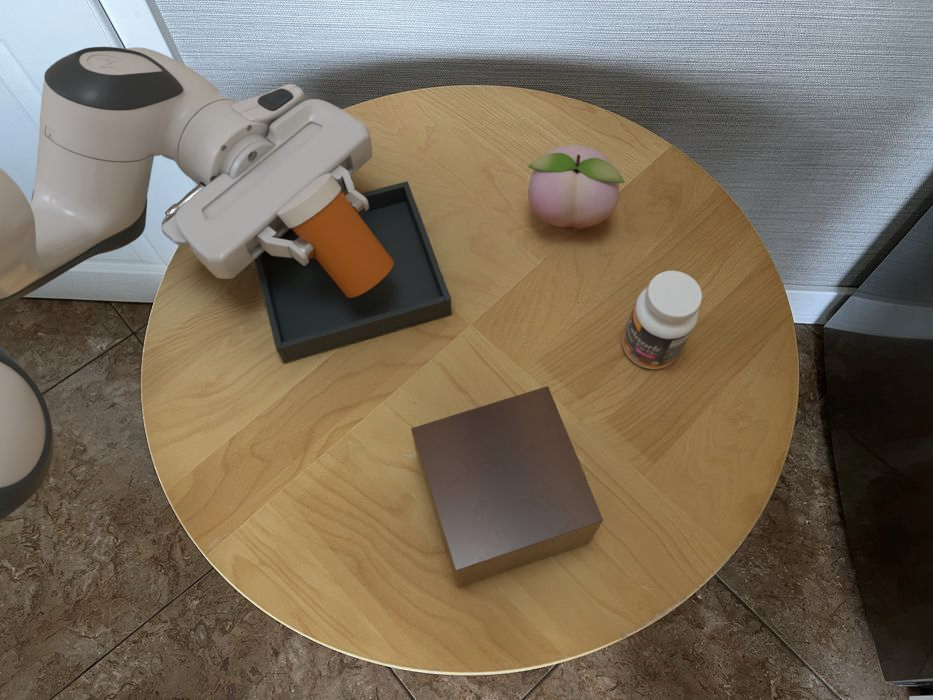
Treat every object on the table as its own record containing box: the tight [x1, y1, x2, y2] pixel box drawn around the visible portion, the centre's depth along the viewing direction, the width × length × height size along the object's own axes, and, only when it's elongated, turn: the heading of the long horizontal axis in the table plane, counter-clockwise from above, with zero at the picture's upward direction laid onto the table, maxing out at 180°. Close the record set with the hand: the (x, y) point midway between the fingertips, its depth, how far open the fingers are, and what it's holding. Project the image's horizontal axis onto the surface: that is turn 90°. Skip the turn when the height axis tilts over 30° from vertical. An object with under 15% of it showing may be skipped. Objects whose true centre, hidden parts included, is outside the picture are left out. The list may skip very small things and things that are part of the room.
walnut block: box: [410, 385, 604, 589], centre depth 63 cm, size 12×12×8 cm
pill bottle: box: [621, 270, 703, 370], centre depth 69 cm, size 6×6×10 cm
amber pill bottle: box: [277, 173, 394, 298], centre depth 70 cm, size 6×6×10 cm
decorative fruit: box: [527, 144, 625, 229], centre depth 76 cm, size 9×8×10 cm
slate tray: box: [254, 180, 453, 364], centre depth 76 cm, size 17×15×3 cm
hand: (337, 232), depth 69 cm, fingers closed on amber pill bottle, 5 cm apart
